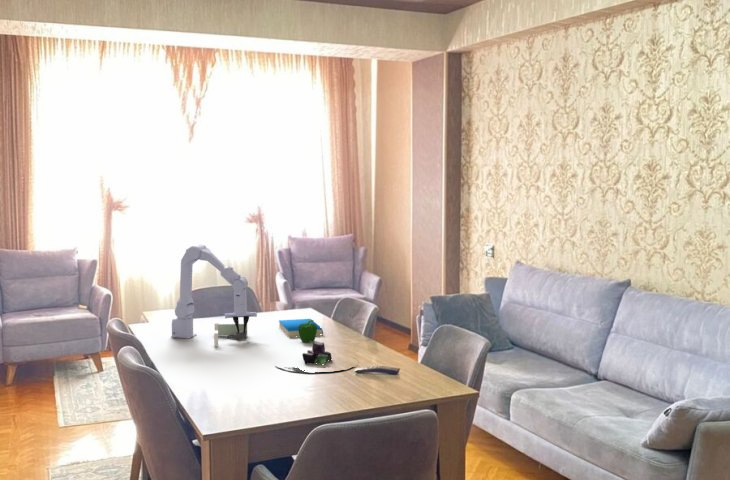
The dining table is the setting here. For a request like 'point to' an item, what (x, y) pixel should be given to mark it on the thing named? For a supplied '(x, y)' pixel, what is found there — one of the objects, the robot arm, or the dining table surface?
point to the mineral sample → (314, 356)
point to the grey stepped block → (238, 335)
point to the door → (229, 329)
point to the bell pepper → (307, 331)
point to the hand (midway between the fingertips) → (241, 332)
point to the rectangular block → (216, 334)
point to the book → (296, 326)
